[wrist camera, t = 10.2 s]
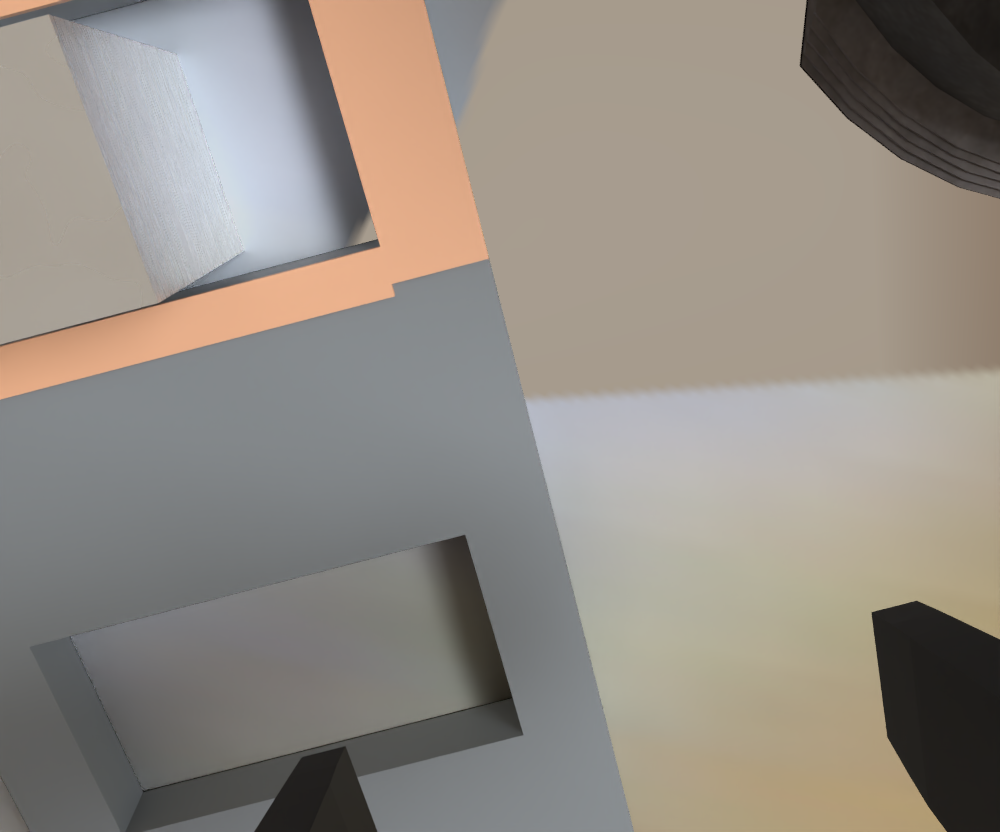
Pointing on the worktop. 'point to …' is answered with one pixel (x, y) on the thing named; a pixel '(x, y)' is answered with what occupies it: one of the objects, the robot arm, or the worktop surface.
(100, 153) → the block
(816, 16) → the juicer
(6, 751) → the rail plate
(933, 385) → the worktop surface
